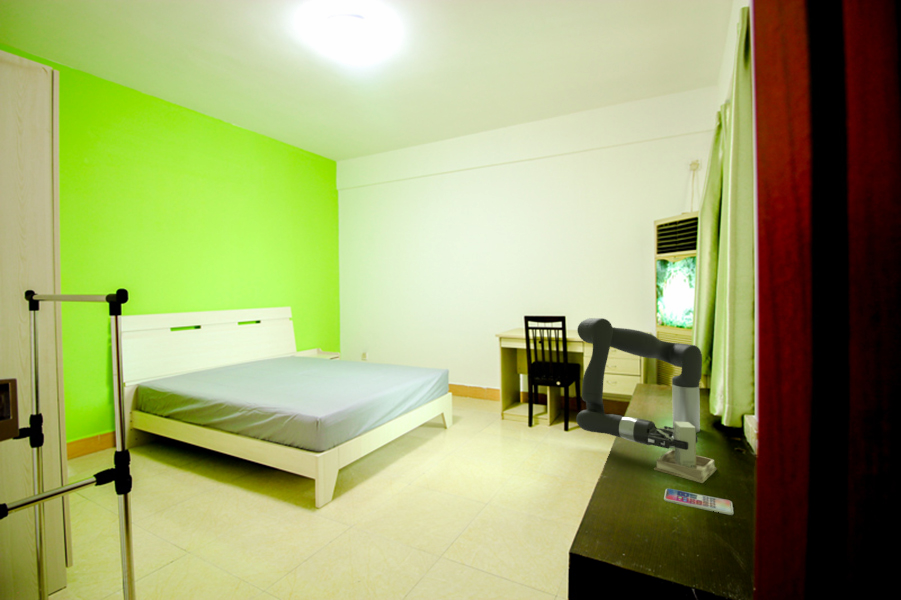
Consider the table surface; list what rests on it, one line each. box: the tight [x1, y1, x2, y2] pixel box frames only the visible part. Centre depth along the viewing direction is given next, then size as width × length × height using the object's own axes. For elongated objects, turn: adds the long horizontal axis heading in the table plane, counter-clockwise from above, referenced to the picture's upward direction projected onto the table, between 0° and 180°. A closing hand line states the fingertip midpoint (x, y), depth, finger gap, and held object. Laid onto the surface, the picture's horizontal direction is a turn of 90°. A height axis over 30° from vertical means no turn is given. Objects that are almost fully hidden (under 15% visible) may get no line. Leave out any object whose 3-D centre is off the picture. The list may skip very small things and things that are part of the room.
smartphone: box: [663, 488, 734, 516], centre depth 107 cm, size 7×1×15 cm
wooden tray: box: [653, 449, 718, 484], centre depth 127 cm, size 13×13×3 cm
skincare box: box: [674, 421, 697, 468], centre depth 127 cm, size 6×4×12 cm
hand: (692, 442), depth 125 cm, fingers closed on skincare box, 7 cm apart
